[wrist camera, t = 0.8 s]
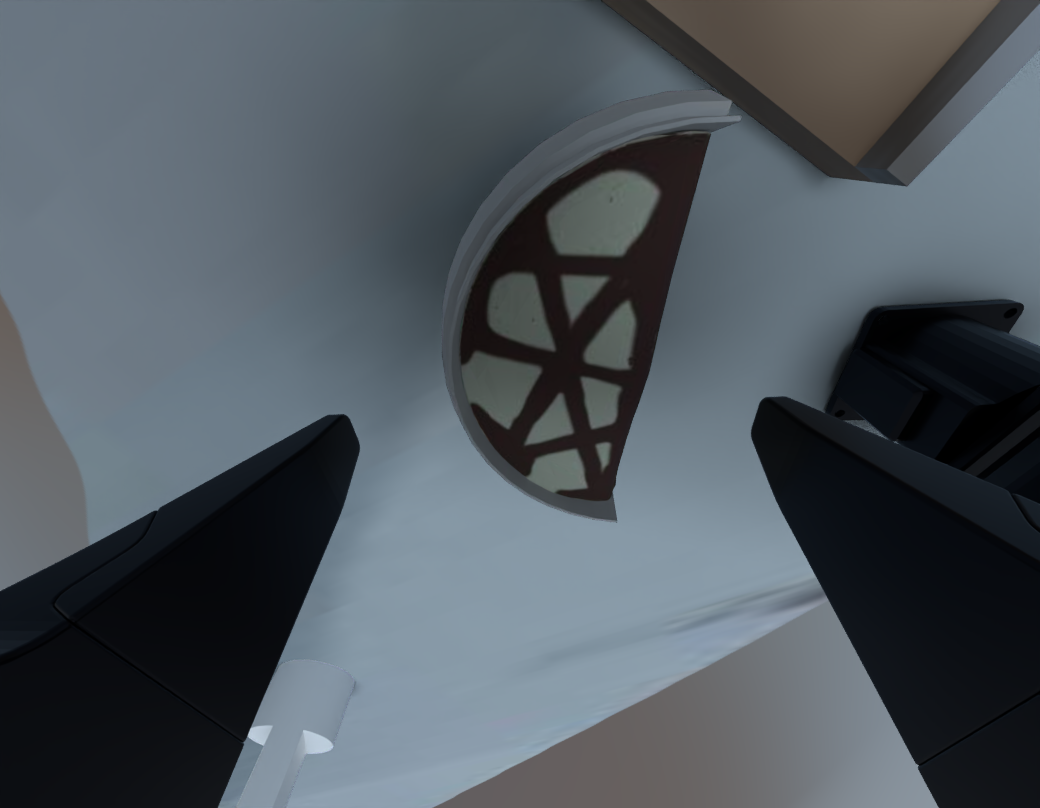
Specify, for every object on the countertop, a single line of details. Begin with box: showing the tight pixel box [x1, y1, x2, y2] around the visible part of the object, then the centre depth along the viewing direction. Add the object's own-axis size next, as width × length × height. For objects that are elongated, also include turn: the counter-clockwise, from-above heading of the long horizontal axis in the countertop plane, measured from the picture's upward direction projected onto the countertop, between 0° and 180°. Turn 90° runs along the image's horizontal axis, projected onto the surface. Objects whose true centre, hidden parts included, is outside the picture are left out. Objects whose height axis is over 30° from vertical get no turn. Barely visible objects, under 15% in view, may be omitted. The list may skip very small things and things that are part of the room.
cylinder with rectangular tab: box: [236, 660, 355, 808], centre depth 41 cm, size 9×9×12 cm
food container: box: [442, 90, 741, 523], centre depth 14 cm, size 12×6×10 cm, turn 177°
